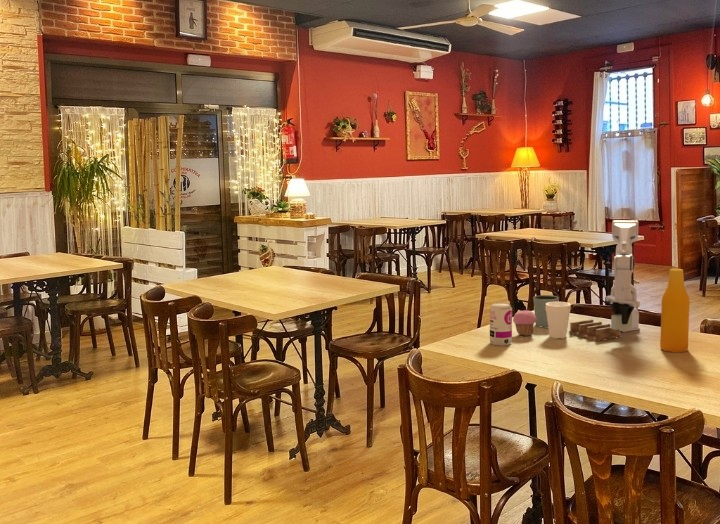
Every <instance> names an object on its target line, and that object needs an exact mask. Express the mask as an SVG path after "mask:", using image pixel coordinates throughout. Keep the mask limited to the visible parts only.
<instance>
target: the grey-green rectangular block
mask: <svg viewBox="0 0 720 524" xmlns="http://www.w3.org/2000/svg"><path fill="white" fill-rule="evenodd" d="M610 317H611V319H610V320H611V321H610V327H611V329H615V330H618V329H624V328H630V327H632V314H631V315H630V317H629V320H628V324H622V314H617V315H614V314H611V316H610Z"/></svg>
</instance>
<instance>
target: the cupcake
mask: <svg viewBox="0 0 720 524" xmlns="http://www.w3.org/2000/svg"><path fill="white" fill-rule="evenodd" d="M535 322H536V316H535V312H533V311H532V310H528V309H527V310H525V309H524V310H519V311H517V312H516V313H515V314H514V316H513V317H512V323H514V325H515V330H516V333H517V334H518V335H519V336H521V335H522V336H524V337H525V336H526V337H527V336H531V335H533V333H534V324H536V323H535Z"/></svg>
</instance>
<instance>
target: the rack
mask: <svg viewBox="0 0 720 524" xmlns="http://www.w3.org/2000/svg"><path fill="white" fill-rule="evenodd" d="M569 323H570V324H569V325H570V326H569V327H570V329H569V331H568V334H569V333H571V334H570V335H572V334H574V335H573V336H575V335H577V336H576V337H579V336H580V337H579V338H582V337H584V338H583V339H586V338H587V340H589V339H591V340H590V341H593V340H595V341H594V342H596V341H598V342H600V341H599V340H604V339H610V340H612V339H611V338H616V337H620V338H621V334H620V331H619V329H618V330H615V329H611V323H603V322H602V321H599V320H598V321H594V319H586V320H578V321H572V322H571V321H570V322H569ZM616 339H617V338H616ZM604 341H605V340H604Z"/></svg>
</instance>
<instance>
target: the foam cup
mask: <svg viewBox="0 0 720 524" xmlns="http://www.w3.org/2000/svg"><path fill="white" fill-rule="evenodd" d="M571 305H572V304H571V303H569V302H565V301H558V302H548V303H546V313H547V321H548V335H549V338H551V337H553V338H552V339H555V338H563V339H566V338H567V333H568V327H569V319H570V314H571V308H572V307H571ZM565 337H566V338H565Z"/></svg>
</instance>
